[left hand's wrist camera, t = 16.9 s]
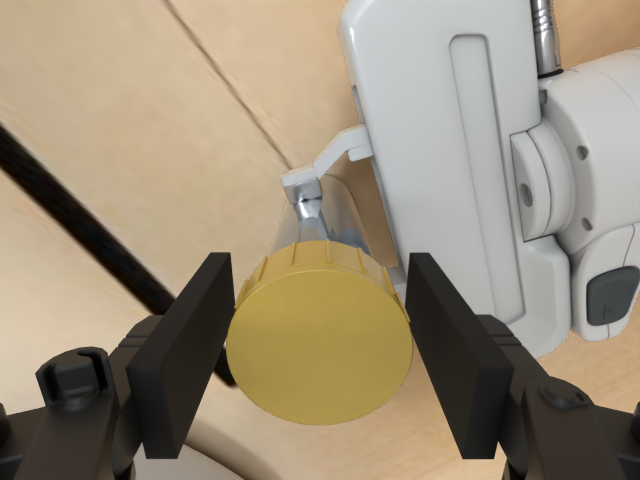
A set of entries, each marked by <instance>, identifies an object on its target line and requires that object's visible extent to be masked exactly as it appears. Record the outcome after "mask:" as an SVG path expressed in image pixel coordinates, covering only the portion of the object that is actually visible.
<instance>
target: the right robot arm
mask: <svg viewBox="0 0 640 480" xmlns="http://www.w3.org/2000/svg"><path fill="white" fill-rule="evenodd" d="M552 6H553V0H348V1H347V2H346V4H345V6H344V8H343V10H342V12H341V14H340V17H339V20H338V23H337V35H338V39H339V43H340V47H341V51H342V55H343V58H344V62H345V66H346V70H347V73H348V77H349V81H350V85H351V88H352V92H353V96H354V100H355V103H356V107H357V111H358V115H359V118H360V122H361V124H359V125H356V126H353V127H350V128H347V129H344V130H341V131H339V132H338V133H337V134H336V135H335V137H334V138H333V139H332V140H331V141H330V142H329V143H328V144H327V146H326V147H325V148H324V149H323V150H322V151H321V152H320V153H319V155H318V156H317V157H316V158H315V159H314V162H313V163H310V164H307V165H304V166H301V167H298V168H295V169H292V170H289V171H287V172H285V173H283V174H281V176H280V180H281V183H282V186H283V188H284V191H285V193H286V196H287V199H288V201H289V204H290V205H294V204H298V203H300V202H302V201H303V200H304V198H306V199H314V198H317V197H320V196H323V192H322V191H323V190H322V185H321V182H320V178H321V177H322V176H323V175H324V174H325V173H326V172H327V171H328V170H329V169H330V168H331V167H332V165H333V164H334V163H335V162H336V161H337V160H338V159H339V158H340V157H341V156H342V155H343V154H344V153H345V152H346V154H347V156H348V158H349V159H350V161H352V162H354V161H357V160H360V159H364V158H367V157H370V160H371V163H372V167H373V171H374V175H375V178H376V182H377V186H378V190H379V193H380V197H381V201H382V205H383V208H384V212H385V216H386V220H387V223H388V227H389V231H390V235H391V238H392V242H393V246H394V250H395V253H396V257H397V261H398V265H399V266H396V267H393V268H389V269H386V270H387V272H388V275H389V277H390V280H391V282H392V284H393V286H394V288H395V291H396V292H399V295H400V297H401V300H402V302H403V304H404V306H405V297H406V287H407V276H408V265H409V254H410V252H429V253H430V254H431V255H432V257H433V258H434V259H435V261H436V262H437V264H438V265H439V266H440V268H441V269H442V270H443V272H444V273H445V274H446V276H447V277H448V278H449V280H450V281H451V282H452V284H453V285H454V286H455V288H456V289H457V290H458V292H459V293H460V294H461V296H462V297H463V298H464V300H465V301H466V303H467V304H468V305H469V307H470V308H471V309H472V311H473V312H474V313H475V314H491V315H492V316H494V317H495V318H497V319H498V320H500V321H502V322H503V323H505V324H506V325H507V327H508V328H509V329H510V330H511V331H512V333H513V334H514V337H517V338H518V340H519V341H520V342H521V343H522V346H524V347H525V348H526V349H527V350H528V351H529V353H530V354H531V355H532V356H533V357H534V358H535V359H538V358H540V357H542V356H545V355H547V354H549V353H550V352H552V351H554V350H555V349H556V348H558V347H559V346H560V345H561V344H562V343H563V342H564V341H565V339H566V338H567V336H568V334H569V332H570V330H571V331H573V332H574V333H575V334H577V335H578V336H579V337H581V338H582V339H584V340H585V341H588V342H596V341H602V340H606V339H610V338H613V337H615V336H617V335H619V334H620V333H621V332H622V331H623V330H624V328H625V327H626V325H627V323H628V320H629V318H630V315H631V312H632V309H633V306H634V303H635V301H636V298H637V295H638V293H639V290H640V46H639V47H635V48H630V49H625V50H622V51H619V52H616V53H613V54H610V55H607V56H604V57H601V58H598V59H594V60H591V61H588V62H585V63H582V64H579V65H576V66H573V67H570V68H567V69H564V70H563V69H562V70H561V60H560V47H559V36H558V29H557V27H556V21H555V20H554V19H555V15H554V14H553V12H554V9H553V7H552Z"/></svg>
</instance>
